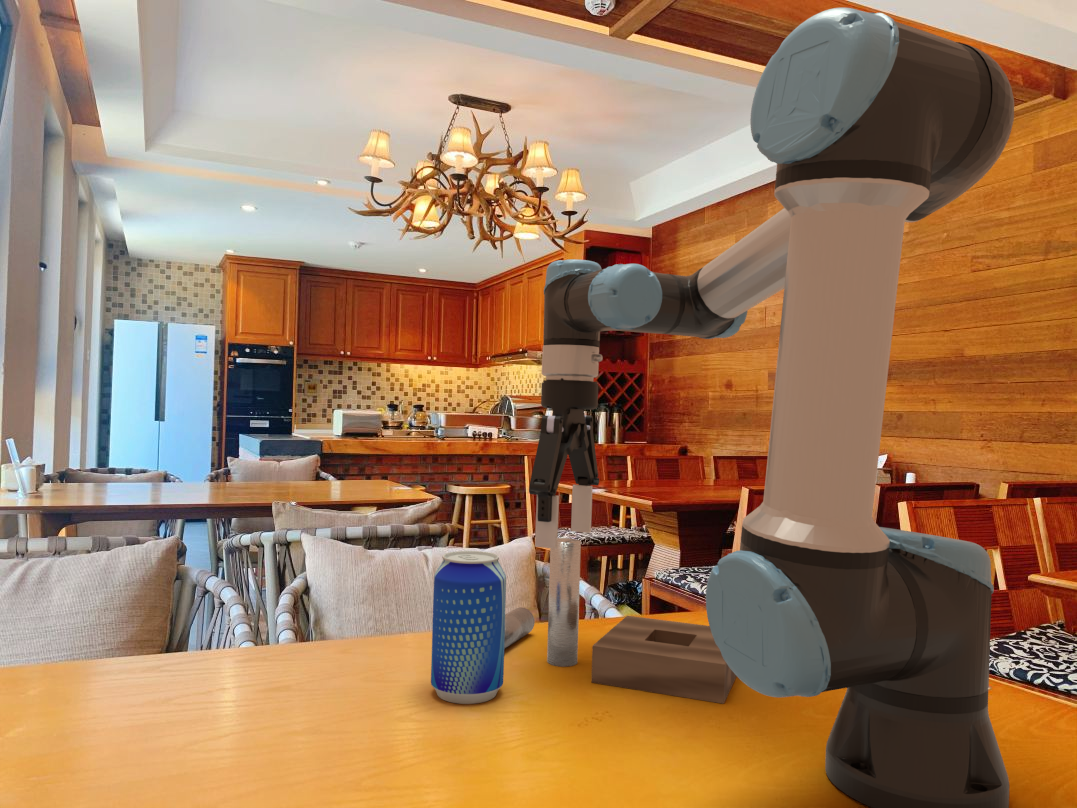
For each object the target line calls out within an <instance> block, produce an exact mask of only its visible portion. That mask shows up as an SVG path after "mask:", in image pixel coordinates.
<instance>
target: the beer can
mask: <svg viewBox="0 0 1077 808" xmlns="http://www.w3.org/2000/svg"><path fill="white" fill-rule="evenodd" d="M499 559H500V556H499V555H498V554H497V553H493V552H489V551H482V550H478V551H477V550H459V551H450V552H447V553H444V554H443V555H442V561H441V563H440V564H439V566H438V567H437V570H436V571H435V573H434V575H433V594H432V595H433V599H432V602H433V603H432V628H431V629H432V630H431V631H432V632H431V633H432V635H431V660H430V661H431V664H430V665H431V667H430V670H431V672H430V685H431V687H432V688H433V689H434V690H435V692H436V694H437V697H438V698H439V699H441V700H442V701H445V702H448V703H453V704H458V705H459V704H460V705H461V704H462V705H473V704H479V703H485V702H488V701H490V700H492V699H494V698H495V697H496V696H497V694H498V691H499V690H500V689H501V688H502V686H503V685H504V672H505V671H504V670H505V669H504V668H505V666H504V665H505V649H504V640H505V614H506V606H507V605H506V600H507V598H506V597H507V574H506V572H505V570H504V568H503V567H502V565H501V563H500V561H499Z"/></svg>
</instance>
